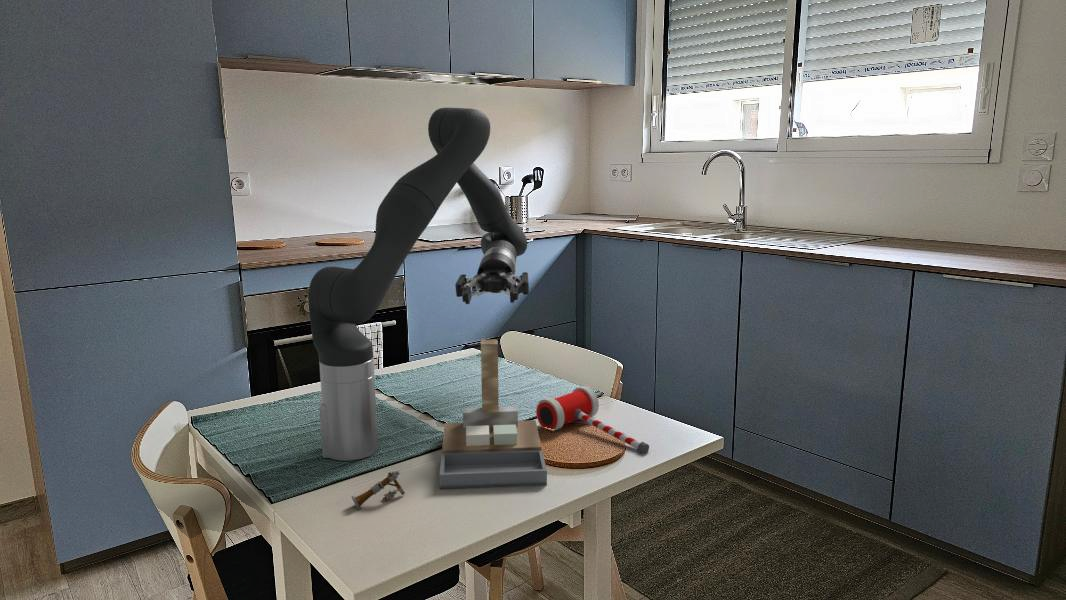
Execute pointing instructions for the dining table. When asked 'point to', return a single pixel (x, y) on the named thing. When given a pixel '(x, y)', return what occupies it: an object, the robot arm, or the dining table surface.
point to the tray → (492, 469)
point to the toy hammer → (579, 414)
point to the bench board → (490, 439)
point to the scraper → (490, 393)
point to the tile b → (504, 434)
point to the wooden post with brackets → (377, 487)
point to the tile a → (477, 435)
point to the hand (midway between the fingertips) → (489, 298)
